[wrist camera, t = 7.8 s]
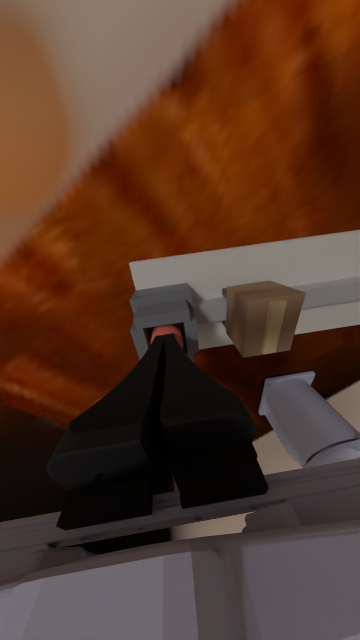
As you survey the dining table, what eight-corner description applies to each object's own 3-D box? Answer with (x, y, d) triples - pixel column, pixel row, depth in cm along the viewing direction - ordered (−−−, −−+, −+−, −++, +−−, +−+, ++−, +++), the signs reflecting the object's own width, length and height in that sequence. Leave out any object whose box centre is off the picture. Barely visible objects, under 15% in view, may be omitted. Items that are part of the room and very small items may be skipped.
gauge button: (181, 338, 13) (184, 356, 11) (155, 342, 13) (154, 360, 11) (178, 315, 12) (181, 329, 10) (150, 319, 12) (146, 334, 10)
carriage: (255, 321, 17) (292, 352, 12) (221, 326, 17) (244, 360, 12) (261, 277, 15) (310, 293, 10) (222, 283, 15) (250, 302, 10)
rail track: (374, 317, 20) (454, 344, 14) (154, 351, 19) (150, 394, 14) (427, 220, 15) (582, 205, 9) (131, 262, 14) (109, 272, 9)
